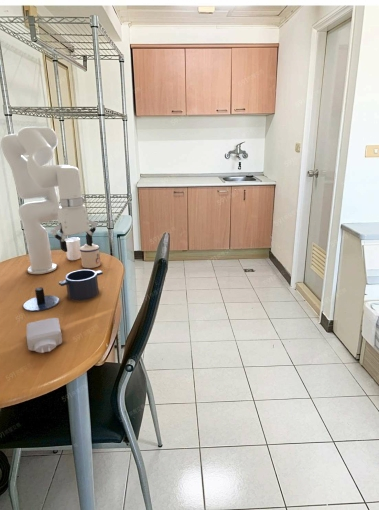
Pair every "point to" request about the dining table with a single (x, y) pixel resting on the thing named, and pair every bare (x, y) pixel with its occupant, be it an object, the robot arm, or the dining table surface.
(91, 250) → the teacup with lid
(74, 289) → the pot
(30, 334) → the charger
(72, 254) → the white cup
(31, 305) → the pot lid
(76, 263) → the dining table surface
